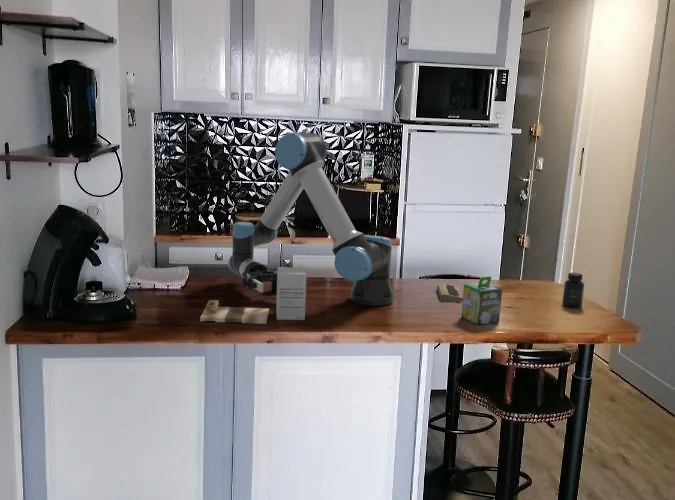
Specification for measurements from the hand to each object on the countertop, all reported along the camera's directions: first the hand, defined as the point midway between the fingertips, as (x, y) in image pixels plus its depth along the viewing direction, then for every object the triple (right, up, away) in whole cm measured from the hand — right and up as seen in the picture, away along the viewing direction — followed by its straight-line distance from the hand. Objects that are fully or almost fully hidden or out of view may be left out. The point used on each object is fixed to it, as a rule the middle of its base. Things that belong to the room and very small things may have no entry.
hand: (281, 286), depth 210 cm
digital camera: (-1, -3, +28) cm, 28 cm away
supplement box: (+3, -10, -3) cm, 10 cm away
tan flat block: (+60, -6, +31) cm, 68 cm away
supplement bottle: (+103, -9, +25) cm, 106 cm away
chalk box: (+65, -11, +3) cm, 66 cm away
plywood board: (-14, -9, -7) cm, 18 cm away
